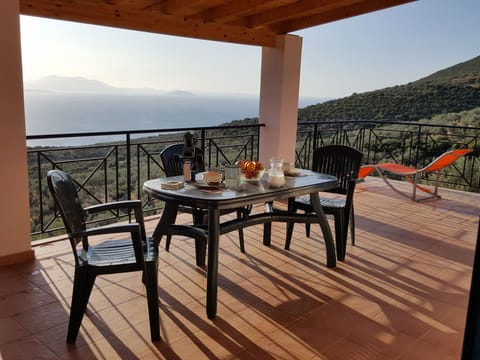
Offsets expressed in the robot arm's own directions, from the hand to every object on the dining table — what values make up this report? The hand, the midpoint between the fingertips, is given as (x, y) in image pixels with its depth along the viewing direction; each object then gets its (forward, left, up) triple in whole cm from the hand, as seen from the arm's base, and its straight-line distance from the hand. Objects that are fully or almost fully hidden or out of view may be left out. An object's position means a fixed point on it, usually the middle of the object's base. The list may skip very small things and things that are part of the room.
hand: (187, 169), depth 279 cm
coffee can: (-29, +8, -13) cm, 33 cm away
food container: (-27, -8, -13) cm, 31 cm away
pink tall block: (-1, -1, -7) cm, 7 cm away
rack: (+7, -7, -12) cm, 16 cm away
